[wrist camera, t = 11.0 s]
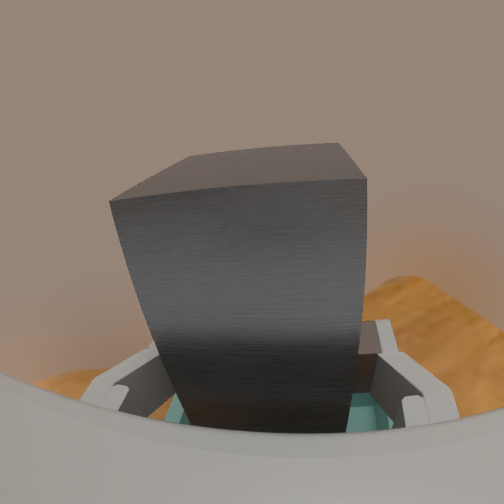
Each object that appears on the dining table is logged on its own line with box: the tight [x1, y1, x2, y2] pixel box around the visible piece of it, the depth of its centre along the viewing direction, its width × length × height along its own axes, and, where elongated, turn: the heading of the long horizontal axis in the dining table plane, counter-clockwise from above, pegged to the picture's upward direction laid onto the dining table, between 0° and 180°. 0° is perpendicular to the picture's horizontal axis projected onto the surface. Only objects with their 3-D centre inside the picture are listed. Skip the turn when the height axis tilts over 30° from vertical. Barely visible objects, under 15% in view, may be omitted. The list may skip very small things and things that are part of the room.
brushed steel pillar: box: [109, 143, 367, 434], centre depth 10 cm, size 5×5×14 cm
